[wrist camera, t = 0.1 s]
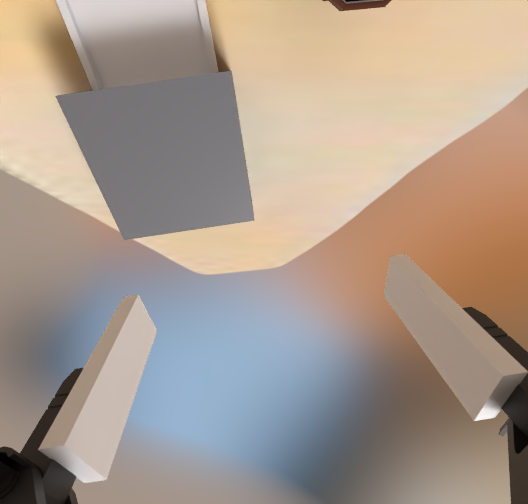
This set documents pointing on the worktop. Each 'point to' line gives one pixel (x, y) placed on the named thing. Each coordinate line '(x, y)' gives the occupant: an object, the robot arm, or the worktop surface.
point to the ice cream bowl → (358, 4)
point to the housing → (165, 153)
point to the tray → (140, 40)
